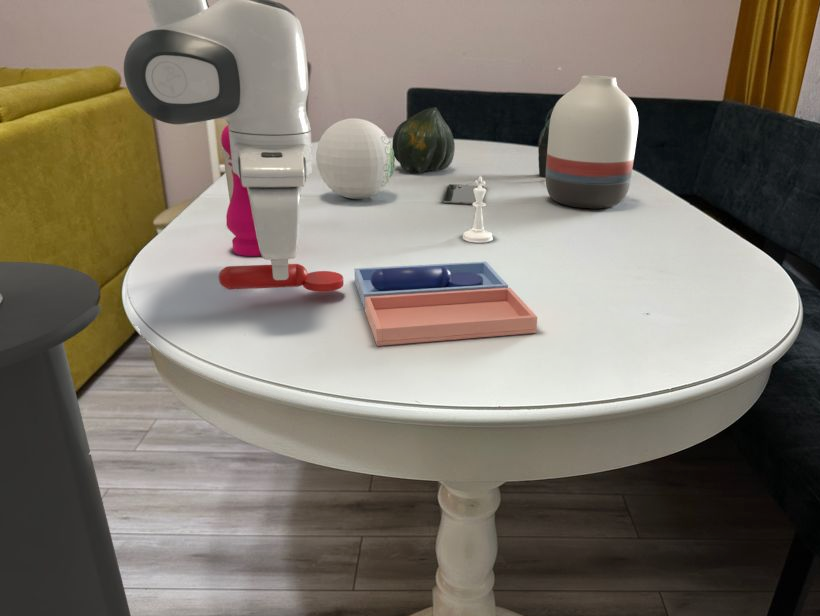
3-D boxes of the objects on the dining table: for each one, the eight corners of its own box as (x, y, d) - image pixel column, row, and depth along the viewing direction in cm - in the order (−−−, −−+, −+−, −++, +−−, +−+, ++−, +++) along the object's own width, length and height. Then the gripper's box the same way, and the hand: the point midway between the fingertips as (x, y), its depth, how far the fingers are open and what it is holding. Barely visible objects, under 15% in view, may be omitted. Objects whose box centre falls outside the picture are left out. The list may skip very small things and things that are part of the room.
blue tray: (364, 309, 81) (363, 294, 80) (354, 282, 90) (354, 268, 89) (507, 299, 86) (508, 285, 85) (485, 275, 94) (486, 261, 93)
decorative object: (388, 209, 126) (386, 125, 120) (309, 205, 127) (303, 121, 121) (400, 191, 140) (399, 115, 133) (329, 188, 141) (325, 112, 134)
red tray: (376, 346, 72) (376, 329, 71) (365, 312, 81) (364, 296, 80) (536, 333, 77) (537, 316, 76) (509, 302, 85) (510, 287, 84)
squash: (371, 147, 156) (412, 98, 148) (397, 141, 169) (436, 96, 162) (413, 193, 156) (456, 147, 149) (436, 184, 170) (476, 141, 162)
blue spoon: (373, 297, 84) (373, 276, 82) (368, 284, 88) (367, 263, 87) (487, 290, 87) (488, 270, 86) (476, 277, 92) (477, 258, 90)
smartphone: (442, 201, 132) (449, 182, 146) (442, 203, 132) (449, 185, 146) (481, 202, 131) (484, 184, 146) (481, 205, 132) (484, 187, 146)
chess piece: (484, 244, 108) (486, 181, 103) (457, 239, 110) (459, 177, 105) (497, 237, 112) (501, 176, 107) (471, 232, 114) (474, 172, 109)
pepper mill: (269, 240, 106) (256, 105, 97) (287, 252, 100) (276, 111, 92) (223, 247, 102) (205, 107, 93) (239, 260, 96) (223, 113, 88)
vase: (616, 216, 127) (634, 81, 117) (531, 205, 133) (541, 75, 123) (635, 199, 141) (652, 77, 131) (557, 189, 147) (568, 72, 137)
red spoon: (218, 296, 79) (216, 274, 78) (221, 282, 83) (218, 260, 82) (345, 291, 83) (344, 269, 81) (341, 277, 87) (340, 256, 86)
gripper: (245, 141, 84) (254, 248, 90) (239, 174, 67) (252, 304, 73) (297, 142, 86) (303, 247, 92) (305, 173, 68) (311, 301, 74)
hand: (280, 272), depth 82 cm, fingers closed on red spoon, 3 cm apart
